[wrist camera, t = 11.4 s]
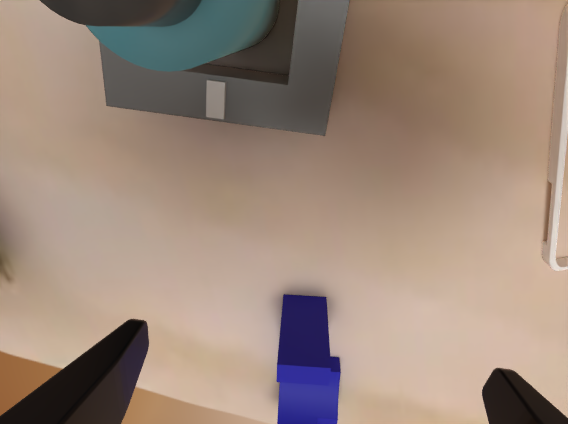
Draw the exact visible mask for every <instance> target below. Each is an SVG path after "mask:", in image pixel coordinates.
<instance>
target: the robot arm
mask: <svg viewBox="0 0 568 424" xmlns="http://www.w3.org/2000/svg"><path fill="white" fill-rule="evenodd" d="M148 347H149V338H148V326H147V322H146V321H144V320H138V319H130V320H128V321H126V322H125V323H123V324H122V325H121V326H119V327H118V328H117V329H116V330H114V331H113V332H112V333H110V334H109V335H108V336H106V337H105V338H104V339H102V340H101V341H100V342H98V343H97V344H96V345H94V346H93V347H92V348H90V349H89V350H88V351H86V352H85V353H84V354H82V355H81V356H80V357H78V358H77V359H76V360H74V361H73V362H72V363H70V364H69V365H68V366H66V367H65V368H64V369H62V370H61V371H60V372H58V373H57V374H56V375H54V376H53V377H52V378H50V379H49V380H48V381H46V382H45V383H44V384H42V385H41V386H40V387H38V388H37V389H36V390H34V391H33V392H32V393H30V394H29V395H28V396H26V397H25V398H24V399H22V400H21V401H20V402H18V403H17V404H16V405H14V406H13V407H12V408H11V409H9V410H8V411H6V412H5V413H4V414H2V415H1V416H0V424H121V422H122V420H123V418H124V416H125V413H126V410H127V408H128V405H129V403H130V399H131V397H132V394H133V391H134V389H135V386H136V383H137V380H138V377H139V374H140V371H141V369H142V366H143V363H144V360H145V357H146V354H147V351H148ZM482 396H483V401H484V405H485V409H486V413H487V417H488V421H489V424H568V418H567V417H566V416H565V415H564V414H562V413H561V412H560V411H559V410H558V409H557V408H556V407H555V406H553V405H552V404H551V403H550V402H549V401H548V400H547V399H546V398H544V397H543V396H542V395H541V394H540V393H539V392H538V391H537V390H535V389H534V388H533V387H532V386H531V385H530V384H529V383H528V382H526V381H525V380H524V379H523V378H522V377H521V376H520V375H519V374H517V373H516V372H515V371H513V370H510V369H503V368H496V369H494V370H493V372H492V373H491V375H490V377H489V378H488V380H487V382H486V383H485V385H484V387H483V390H482Z"/></svg>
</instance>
